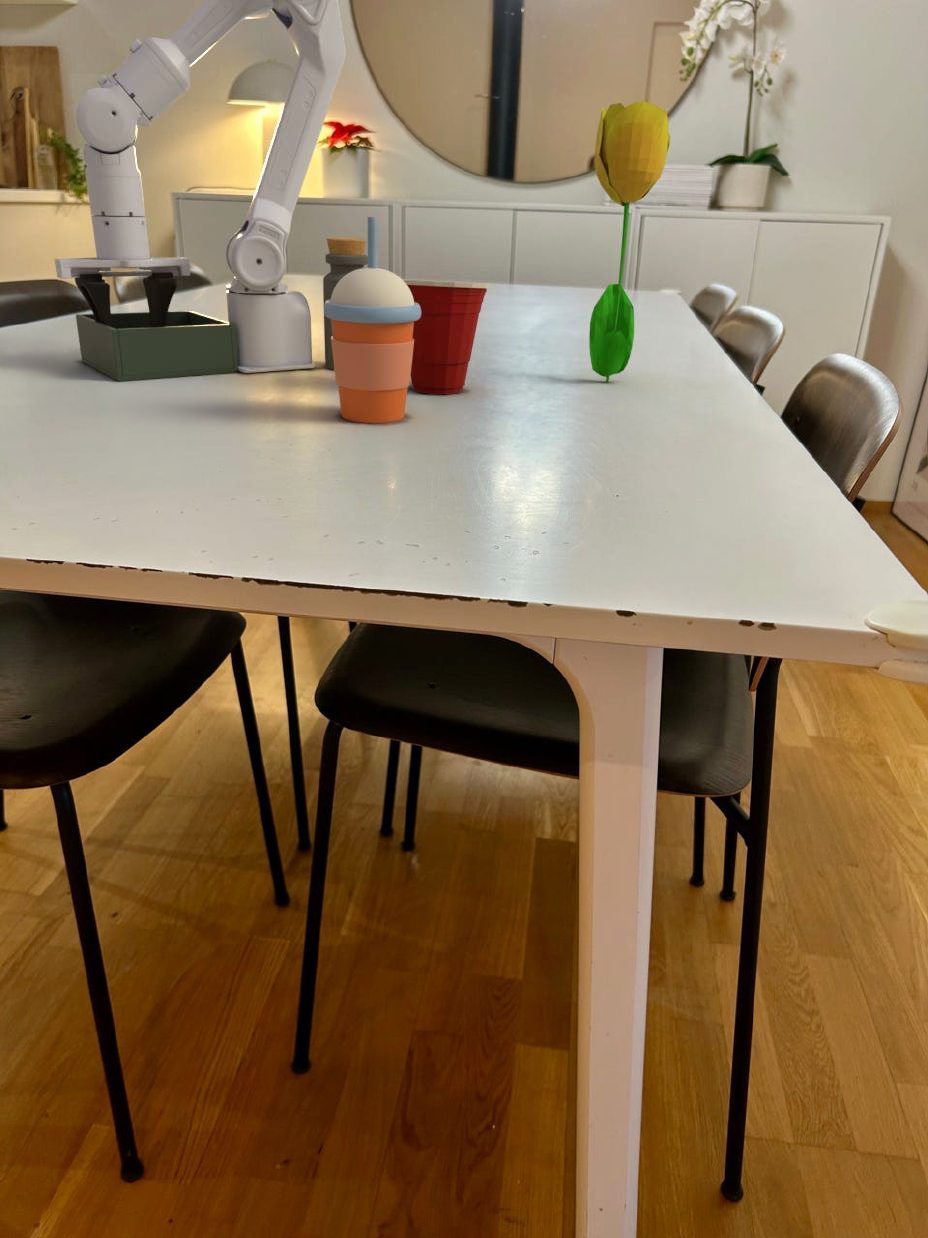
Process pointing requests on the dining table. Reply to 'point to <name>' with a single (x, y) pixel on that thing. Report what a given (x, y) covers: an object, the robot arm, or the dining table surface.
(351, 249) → the bottle
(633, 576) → the dining table surface
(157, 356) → the bin
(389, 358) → the cup with straw
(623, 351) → the flower
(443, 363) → the plastic cup
